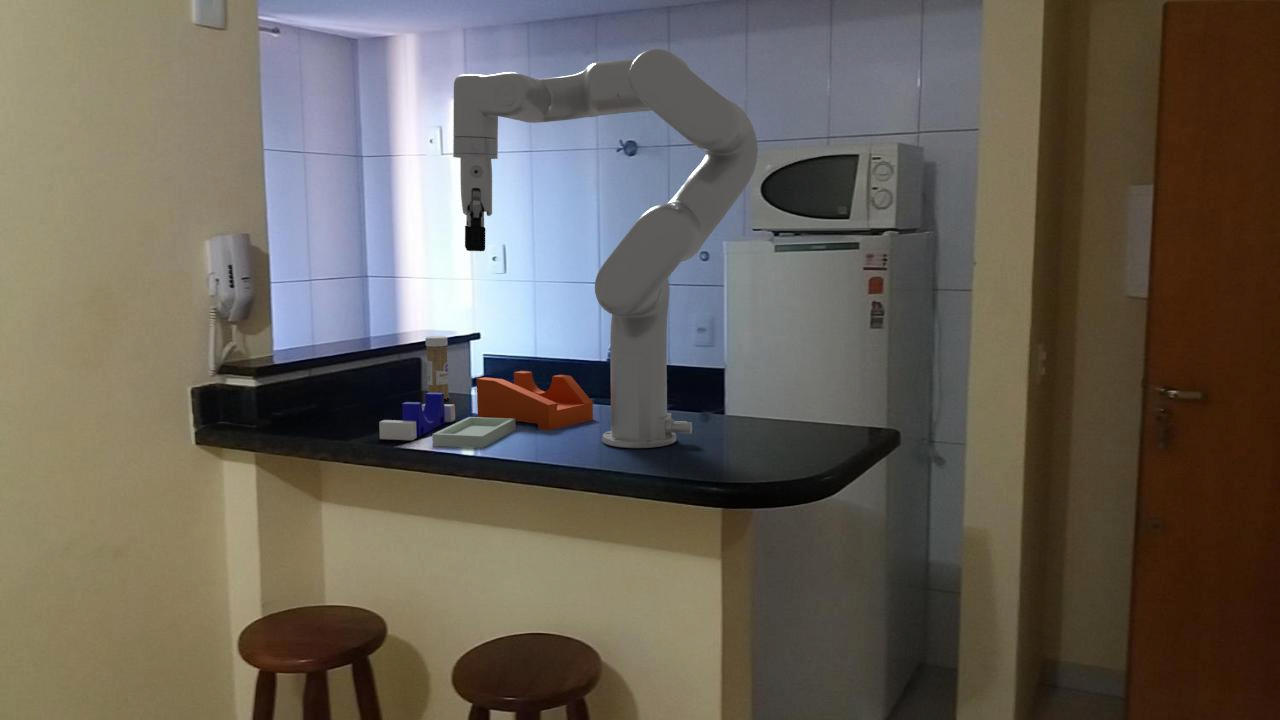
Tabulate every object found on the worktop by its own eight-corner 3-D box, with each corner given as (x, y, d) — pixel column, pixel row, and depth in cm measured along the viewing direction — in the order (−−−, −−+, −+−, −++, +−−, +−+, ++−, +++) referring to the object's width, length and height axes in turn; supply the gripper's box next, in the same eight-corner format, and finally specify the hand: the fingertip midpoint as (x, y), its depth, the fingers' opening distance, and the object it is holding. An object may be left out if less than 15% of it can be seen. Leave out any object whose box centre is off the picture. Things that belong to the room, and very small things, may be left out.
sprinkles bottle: (447, 400, 224) (445, 337, 222) (425, 401, 224) (423, 337, 222) (450, 397, 229) (448, 335, 227) (429, 397, 228) (427, 335, 227)
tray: (515, 429, 193) (515, 418, 193) (482, 447, 178) (482, 436, 177) (469, 427, 195) (468, 416, 195) (432, 445, 180) (432, 434, 179)
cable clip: (422, 423, 200) (421, 392, 200) (444, 424, 200) (443, 393, 199) (395, 436, 189) (394, 403, 188) (419, 437, 188) (418, 403, 187)
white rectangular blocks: (455, 420, 203) (454, 404, 202) (411, 440, 184) (410, 423, 184) (426, 418, 204) (425, 403, 204) (379, 438, 186) (379, 422, 185)
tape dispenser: (477, 422, 203) (476, 378, 202) (522, 412, 213) (521, 370, 212) (549, 432, 192) (548, 386, 191) (593, 421, 202) (592, 378, 201)
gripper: (500, 147, 175) (498, 252, 177) (495, 152, 191) (494, 248, 194) (453, 146, 173) (453, 251, 176) (453, 150, 190) (452, 247, 192)
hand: (474, 249), depth 185 cm, fingers open, 9 cm apart
